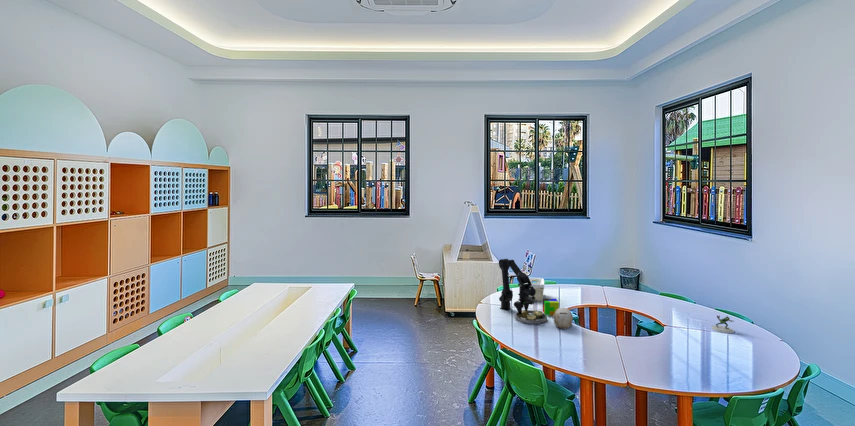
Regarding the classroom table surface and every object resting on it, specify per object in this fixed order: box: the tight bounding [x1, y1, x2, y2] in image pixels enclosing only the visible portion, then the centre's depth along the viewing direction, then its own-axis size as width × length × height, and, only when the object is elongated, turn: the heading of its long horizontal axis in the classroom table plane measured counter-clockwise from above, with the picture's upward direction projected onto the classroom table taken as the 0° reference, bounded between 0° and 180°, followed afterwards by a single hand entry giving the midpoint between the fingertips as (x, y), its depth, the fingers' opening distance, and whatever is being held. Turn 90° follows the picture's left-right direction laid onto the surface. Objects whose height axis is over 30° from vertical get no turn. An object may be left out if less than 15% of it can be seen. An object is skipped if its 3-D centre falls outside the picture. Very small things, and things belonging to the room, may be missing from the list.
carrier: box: [514, 309, 548, 325], centre depth 283 cm, size 22×22×5 cm
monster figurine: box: [711, 314, 735, 334], centre depth 258 cm, size 12×12×10 cm
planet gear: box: [517, 309, 529, 317], centre depth 287 cm, size 7×7×4 cm
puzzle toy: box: [542, 297, 560, 316], centre depth 294 cm, size 10×10×10 cm
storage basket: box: [525, 277, 545, 302], centre depth 335 cm, size 24×16×15 cm
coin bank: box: [552, 307, 574, 330], centre depth 269 cm, size 16×17×13 cm
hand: (523, 313), depth 287 cm, fingers open, 9 cm apart
